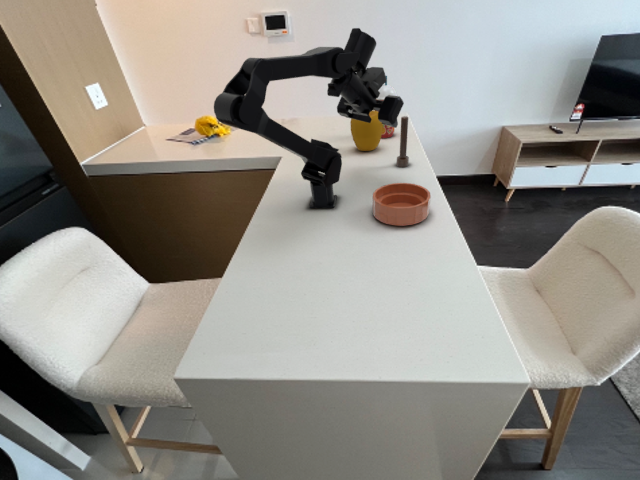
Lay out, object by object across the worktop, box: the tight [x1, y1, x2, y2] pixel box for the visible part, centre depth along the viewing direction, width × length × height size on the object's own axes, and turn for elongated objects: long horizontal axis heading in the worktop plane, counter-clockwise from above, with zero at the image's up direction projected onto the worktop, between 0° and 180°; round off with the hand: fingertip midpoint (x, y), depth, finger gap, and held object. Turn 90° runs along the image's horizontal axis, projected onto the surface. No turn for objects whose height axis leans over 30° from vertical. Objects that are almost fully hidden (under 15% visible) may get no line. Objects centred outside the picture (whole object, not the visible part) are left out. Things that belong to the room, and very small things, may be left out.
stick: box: [396, 115, 410, 168], centre depth 101 cm, size 4×4×14 cm
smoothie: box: [376, 75, 399, 139], centre depth 123 cm, size 8×8×20 cm
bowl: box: [372, 182, 432, 227], centre depth 80 cm, size 13×13×5 cm
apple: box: [349, 110, 383, 152], centre depth 115 cm, size 11×11×13 cm
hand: (383, 123), depth 93 cm, fingers open, 9 cm apart
